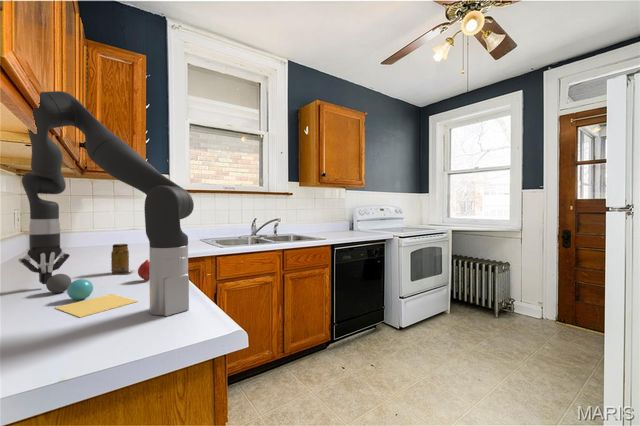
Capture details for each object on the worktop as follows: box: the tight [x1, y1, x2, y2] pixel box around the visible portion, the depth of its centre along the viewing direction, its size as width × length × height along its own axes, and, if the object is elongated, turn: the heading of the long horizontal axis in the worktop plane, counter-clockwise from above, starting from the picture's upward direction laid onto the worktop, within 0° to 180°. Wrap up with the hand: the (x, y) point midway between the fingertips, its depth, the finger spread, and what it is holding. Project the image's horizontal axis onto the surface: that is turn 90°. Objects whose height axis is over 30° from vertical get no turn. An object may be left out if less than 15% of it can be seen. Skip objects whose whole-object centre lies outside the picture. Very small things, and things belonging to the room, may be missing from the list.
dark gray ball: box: [45, 273, 72, 294], centre depth 93 cm, size 6×6×6 cm
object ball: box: [66, 278, 94, 301], centre depth 86 cm, size 6×6×6 cm
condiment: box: [106, 243, 138, 276], centre depth 121 cm, size 7×8×12 cm
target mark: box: [54, 294, 139, 318], centre depth 82 cm, size 14×14×1 cm
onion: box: [137, 259, 150, 282], centre depth 109 cm, size 6×6×8 cm
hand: (45, 283), depth 98 cm, fingers closed
